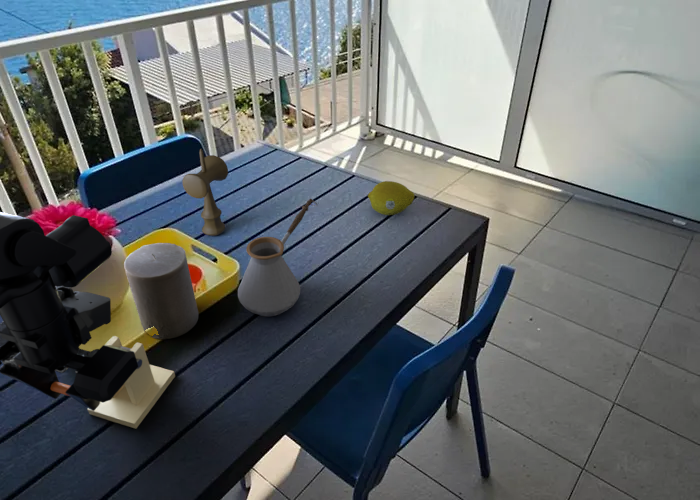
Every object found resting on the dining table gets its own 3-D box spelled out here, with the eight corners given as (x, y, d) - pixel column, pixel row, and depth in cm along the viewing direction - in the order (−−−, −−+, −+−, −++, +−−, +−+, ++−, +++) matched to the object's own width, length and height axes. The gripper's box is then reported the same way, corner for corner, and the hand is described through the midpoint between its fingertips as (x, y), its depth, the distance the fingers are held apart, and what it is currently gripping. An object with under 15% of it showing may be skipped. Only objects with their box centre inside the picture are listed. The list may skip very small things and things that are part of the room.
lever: (86, 407, 62) (86, 391, 62) (50, 396, 63) (49, 380, 63) (144, 366, 72) (144, 351, 72) (111, 357, 74) (111, 343, 73)
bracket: (136, 428, 71) (119, 384, 66) (89, 414, 73) (68, 370, 67) (175, 376, 79) (163, 332, 73) (132, 364, 81) (117, 320, 75)
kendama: (236, 222, 115) (225, 141, 103) (215, 245, 108) (202, 161, 96) (212, 217, 116) (199, 137, 105) (191, 240, 109) (174, 156, 97)
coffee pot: (277, 332, 87) (271, 265, 78) (226, 309, 92) (215, 243, 83) (338, 267, 103) (339, 205, 94) (291, 250, 107) (288, 189, 98)
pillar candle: (160, 348, 84) (140, 279, 75) (132, 319, 89) (110, 252, 80) (210, 319, 90) (196, 252, 81) (180, 294, 95) (164, 228, 86)
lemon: (363, 216, 118) (364, 187, 114) (372, 200, 125) (374, 172, 120) (407, 225, 116) (410, 195, 111) (414, 209, 122) (418, 179, 117)
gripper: (151, 285, 59) (175, 372, 68) (23, 255, 63) (62, 341, 73) (85, 353, 51) (123, 442, 60) (-58, 313, 55) (-2, 401, 64)
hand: (76, 401), depth 64 cm, fingers closed on lever, 5 cm apart
